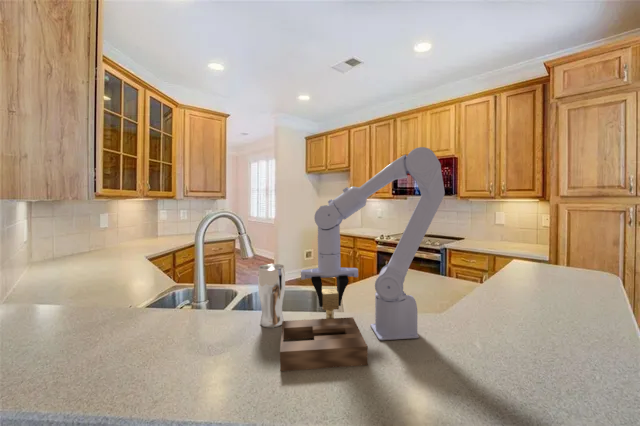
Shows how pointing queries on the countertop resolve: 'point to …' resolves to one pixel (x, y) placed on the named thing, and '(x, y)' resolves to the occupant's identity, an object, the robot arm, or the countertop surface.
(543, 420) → the countertop surface
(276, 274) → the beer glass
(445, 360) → the countertop surface
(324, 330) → the keyhole board
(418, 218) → the robot arm
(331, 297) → the brass peg
